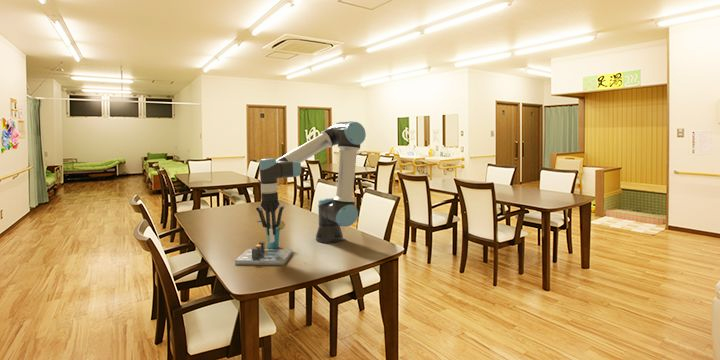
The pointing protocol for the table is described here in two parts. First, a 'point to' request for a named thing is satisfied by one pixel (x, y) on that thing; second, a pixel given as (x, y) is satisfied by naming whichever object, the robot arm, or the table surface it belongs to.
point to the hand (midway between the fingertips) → (272, 241)
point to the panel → (264, 256)
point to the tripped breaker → (258, 248)
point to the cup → (276, 237)
